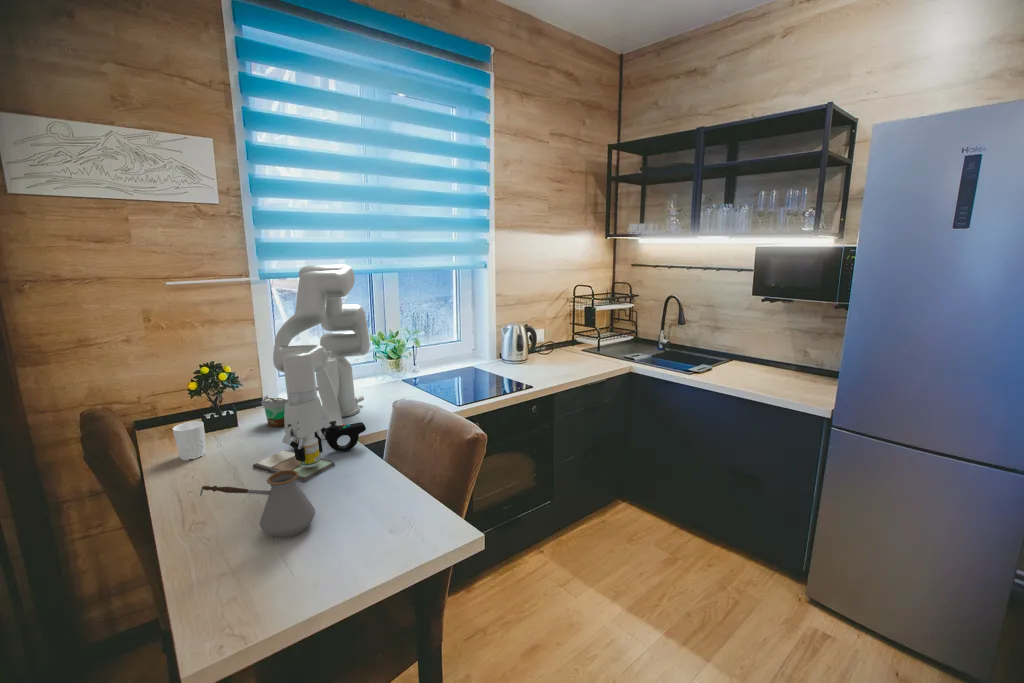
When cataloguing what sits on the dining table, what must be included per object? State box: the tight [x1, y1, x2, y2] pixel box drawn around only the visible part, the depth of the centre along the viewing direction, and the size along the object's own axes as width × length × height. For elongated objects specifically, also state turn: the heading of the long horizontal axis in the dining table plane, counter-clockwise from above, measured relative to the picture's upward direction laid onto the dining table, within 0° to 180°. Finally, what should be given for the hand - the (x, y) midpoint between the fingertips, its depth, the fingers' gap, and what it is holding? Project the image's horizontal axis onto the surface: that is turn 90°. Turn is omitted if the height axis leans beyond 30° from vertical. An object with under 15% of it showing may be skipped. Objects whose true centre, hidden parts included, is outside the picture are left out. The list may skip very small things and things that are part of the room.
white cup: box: [172, 420, 207, 461], centre depth 146 cm, size 8×8×10 cm
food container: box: [261, 395, 288, 429], centre depth 169 cm, size 12×6×10 cm, turn 73°
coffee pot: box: [199, 470, 316, 539], centre depth 104 cm, size 21×12×15 cm, turn 121°
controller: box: [323, 421, 367, 453], centre depth 148 cm, size 4×12×10 cm, turn 116°
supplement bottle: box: [300, 433, 321, 467], centre depth 134 cm, size 5×5×10 cm
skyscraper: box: [315, 351, 344, 436], centre depth 162 cm, size 8×8×28 cm
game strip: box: [252, 449, 336, 483], centre depth 138 cm, size 11×21×1 cm, turn 64°
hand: (309, 455), depth 134 cm, fingers closed on supplement bottle, 5 cm apart
